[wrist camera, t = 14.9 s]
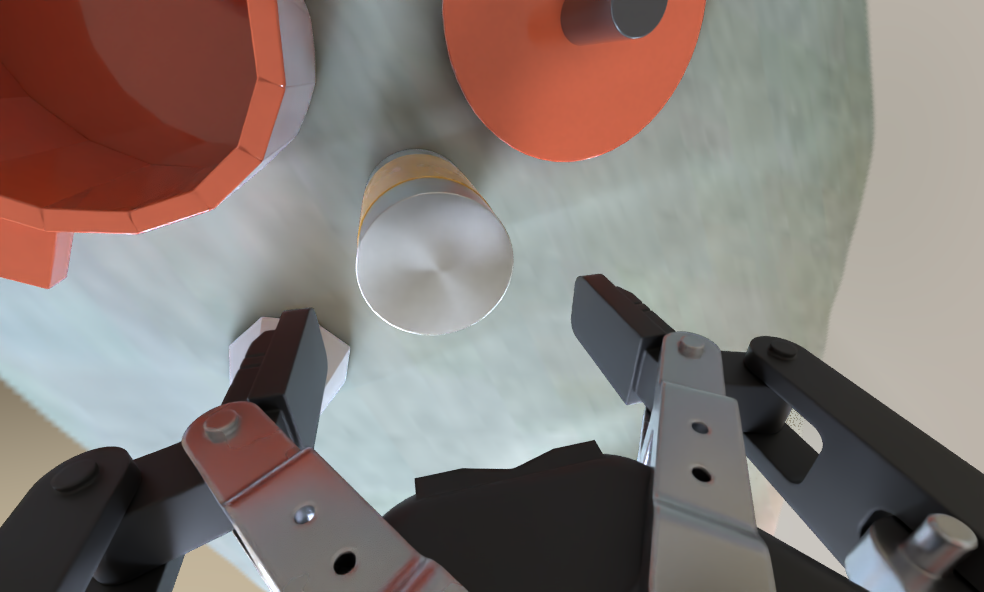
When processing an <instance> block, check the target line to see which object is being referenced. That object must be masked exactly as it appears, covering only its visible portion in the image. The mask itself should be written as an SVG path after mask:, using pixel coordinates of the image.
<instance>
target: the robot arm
mask: <svg viewBox="0 0 984 592" xmlns="http://www.w3.org/2000/svg"><path fill="white" fill-rule="evenodd" d="M571 324H572V329H573V332H574V334H575V336H576V337H577V339H578V340H579V342H580V343H581V344H582V346H583V347H584V348H585V350H586V351H587V352H588V354H589V355H590V356H591V358H592V359H593V361H594V362H595V363H596V365H597V366H598V367H599V369H600V370H601V371H602V373H603V374H604V375H605V377H606V378H607V380H608V381H609V382H610V384H611V385H612V386H613V388H614V389H615V390H616V392H617V393H618V394H619V396H620V397H621V399H622V400H623V401H624V403H625V404H626V405H631V404H636V403H641V402H643V403H644V405H645V410H644V414H643V420H642V428H641V436H640V443H639V451H638V458H637V461H636V460H633V459H630V458H626V457H622V456H617V455H610V454H603V453H602V452H601V450H600V448H599V447H598V445H597V443H596V441H595V440H593V441H588V442H583V443H579V444H574V445H569V446H565V447H560V448H555V449H552V450H550V451H548V452H546V453H544V454H542V455H540V456H538V457H536V458H534V459H532V460H530V461H528V462H526V463H524V464H522V465H520V466H518V467H516V468H513V469H471V468H462V469H457V470H452V471H447V472H443V473H438V474H433V475H429V476H424V477H419V478H415V490H416V494H415V495H413V496H411V497H409V498H407V499H405V500H404V501H402V502H401V503H399V504H397V505H396V506H395V507H393V508H392V509H391V510H390V511H388V512H387V513H386V514H385V515H384V516H383V517H382V516H381V515H380V514H379V513H378V512H377V511H376V510H375V509H374V508H373V507H372V506H371V505H370V504H369V503H368V502H366V501H365V500H364V499H363V498H362V497H361V496H360V495H359V494H358V493H357V492H356V491H355V490H354V489H353V488H352V487H351V486H350V485H349V484H348V483H347V482H346V481H345V480H344V479H343V478H342V477H341V476H340V475H339V474H338V473H337V472H336V471H335V470H334V469H333V468H332V467H331V466H330V465H329V464H328V463H327V462H326V461H325V460H324V459H323V458H322V457H321V456H320V455H319V454H318V453H317V452H316V451H315V450H314V444H315V439H316V433H317V428H318V422H319V417H320V411H321V406H322V400H323V395H324V389H325V384H326V378H327V372H328V361H327V354H326V350H325V346H324V342H323V338H322V335H321V331H320V327H319V323H318V320H317V316H316V313H315V311H314V309H313V308H304V309H296V310H287V311H283V313H282V315H281V317H280V320H279V322H278V324H277V327H276V329H275V330H268V331H264V332H263V333H262V334H261V335H260V336H258V337H257V338H256V339H255V340H254V341H253V342H252V343H251V344H250V346H249V348H248V350H247V352H246V354H245V358H244V359H243V361H242V363H241V365H240V369H239V370H238V371H237V373H236V375H235V377H234V379H233V381H232V383H231V385H230V387H229V390H228V392H227V394H226V396H225V398H224V400H223V402H222V404H221V406H218V407H216V408H213V409H211V410H209V411H208V412H206V413H204V414H203V415H201V416H200V417H198V418H197V419H196V420H195V421H194V422H193V423H192V424H191V425H190V426H189V427H188V428H187V430H186V431H185V433H184V435H183V438H182V441H181V442H179V443H177V444H174V445H172V446H169V447H167V448H164V449H161V450H159V451H156V452H153V453H151V454H148V455H145V456H143V457H140V458H137V459H135V460H133V459H132V458H131V457H130V455H129V454H128V452H127V451H126V450H125V449H123V448H120V447H102V448H97V449H93V450H90V451H87V452H84V453H82V454H80V455H77V456H75V457H73V458H71V459H69V460H67V461H65V462H63V463H61V464H60V465H58V466H57V467H55V468H54V469H52V470H51V471H50V472H48V473H47V474H46V475H44V476H43V477H42V478H41V479H39V480H38V481H37V482H36V483H35V484H34V485H33V487H32V488H31V489H30V490H29V491H28V493H27V494H26V495H25V497H24V498H23V499H22V500H21V502H20V503H19V504H18V506H17V507H16V508H15V509H14V511H13V512H12V513H11V515H10V516H9V517H8V518H7V520H6V521H5V522H4V524H3V525H2V526H1V527H0V592H172V590H173V587H174V585H175V582H176V579H177V576H178V573H179V570H180V567H181V564H182V562H183V558H184V556H185V554H186V553H188V552H190V551H192V550H194V549H196V548H198V547H200V546H202V545H204V544H206V543H208V542H210V541H212V540H214V539H216V538H218V537H220V536H222V535H224V534H226V533H228V532H231V531H232V532H233V534H234V536H235V537H236V539H237V540H238V542H239V543H240V545H241V546H242V548H243V549H244V551H245V553H246V554H247V556H248V557H249V559H250V560H251V562H252V563H253V565H254V566H255V568H256V570H257V571H258V573H259V574H260V576H261V577H262V579H263V580H264V582H265V583H266V585H267V587H268V588H269V590H270V591H271V592H984V474H983V473H981V472H980V471H979V470H977V469H976V468H974V467H973V466H971V465H970V464H968V463H967V462H966V461H964V460H963V459H961V458H960V457H958V456H957V455H956V454H954V453H953V452H951V451H950V450H948V449H947V448H946V447H944V446H943V445H941V444H940V443H939V442H937V441H936V440H934V439H933V438H931V437H930V436H929V435H927V434H926V433H924V432H923V431H921V430H920V429H919V428H917V427H916V426H914V425H913V424H911V423H910V422H909V421H907V420H905V419H904V418H903V417H901V416H900V415H898V414H897V413H896V412H894V411H893V410H891V409H890V408H888V407H887V406H886V405H884V404H883V403H881V402H880V401H879V400H877V399H876V398H874V397H873V396H871V395H870V394H869V393H867V392H866V391H864V390H863V389H861V388H860V387H858V386H857V385H856V384H854V383H853V382H851V381H850V380H849V379H847V378H846V377H844V376H843V375H841V374H840V373H839V372H837V371H836V370H834V369H833V368H831V367H830V366H828V365H827V364H826V363H824V362H823V361H821V360H820V359H819V358H817V357H816V356H814V355H813V354H811V353H810V352H809V351H807V350H806V349H804V348H803V347H801V346H799V345H797V344H795V343H793V342H791V341H788V340H785V339H781V338H777V337H770V336H761V337H756V338H754V339H752V341H751V342H750V345H749V347H748V350H747V352H730V351H720V349H719V347H718V346H717V345H716V344H715V343H714V342H712V341H711V340H709V339H707V338H706V337H703V336H701V335H698V334H695V333H691V332H683V331H677V332H676V331H675V330H673V329H672V328H671V327H670V326H669V325H668V324H667V323H665V322H664V321H663V320H662V319H661V318H660V317H659V316H658V315H656V314H655V313H654V312H653V311H650V308H648V307H647V306H646V305H645V304H642V301H640V300H639V299H638V298H637V297H636V296H635V295H634V294H633V293H631V292H629V291H626V290H624V289H622V288H620V287H618V286H617V287H616V286H615V285H614V284H612V283H611V282H610V281H609V280H608V279H607V278H606V277H605V276H604V275H602V274H594V275H586V276H579V277H577V279H576V282H575V288H574V297H573V305H572V314H571ZM792 408H793V409H794V410H796V411H797V412H798V413H799V414H800V415H801V416H802V417H804V418H805V419H806V420H807V421H808V422H809V423H810V424H812V425H813V426H814V427H815V428H816V429H817V431H818V432H819V434H820V436H821V438H822V442H823V448H822V451H821V452H820V454H818V453H817V452H816V451H815V450H814V449H813V448H812V447H811V446H810V445H809V444H807V443H806V442H805V441H804V440H803V439H802V438H801V437H800V436H799V435H798V434H797V433H796V432H795V431H794V430H793V429H791V428H790V427H789V426H788V425H787V424H786V423H785V421H786V419H787V417H788V415H789V414H790V412H791V410H792ZM746 456H747V457H748V458H749V460H750V461H751V462H752V463H753V464H754V465H755V466H756V468H757V469H758V470H759V471H760V472H761V473H762V474H763V476H764V477H765V478H766V479H767V480H768V481H769V482H770V484H771V485H772V486H773V487H774V488H775V489H776V490H777V491H778V493H779V494H780V495H781V496H782V497H783V498H784V499H785V501H787V503H788V504H789V505H790V506H791V507H792V508H793V510H794V511H795V512H796V513H797V514H798V515H799V517H800V518H801V519H802V520H803V521H804V522H805V523H806V524H807V526H808V527H809V528H810V529H811V530H812V531H813V532H814V534H816V536H817V537H818V538H819V539H820V541H821V542H822V543H823V544H824V545H825V546H826V547H827V548H828V550H829V551H830V552H831V553H832V554H833V555H834V557H835V558H836V559H837V560H838V561H839V562H840V563H841V565H842V566H843V567H844V568H845V570H846V574H847V576H848V578H849V579H847V578H846V577H844V576H842V575H840V574H839V573H837V572H835V571H833V570H832V569H830V568H828V567H826V566H825V565H823V564H821V563H819V562H818V561H816V560H814V559H812V558H811V557H809V556H807V555H805V554H803V553H801V552H800V551H798V550H796V549H795V548H793V547H791V546H789V545H788V544H786V543H784V542H782V541H780V540H779V539H777V538H775V537H774V536H772V535H770V534H768V533H767V532H765V531H763V530H761V529H759V528H758V527H757V526H756V520H755V513H754V506H753V500H752V493H751V486H750V480H749V473H748V466H747V460H746Z"/></svg>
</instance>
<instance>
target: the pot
mask: <svg viewBox="0 0 984 592" xmlns="http://www.w3.org/2000/svg"><path fill="white" fill-rule="evenodd" d="M315 82H316V76H315V46H314V38H313V31H312V23H311V18H310V14H309V11H308V9H307V6H306V4H305V1H304V0H0V277H2V278H6V279H10V280H14V281H18V282H22V283H26V284H30V285H33V286H37V287H41V288H45V289H50V288H51V287H53V286H54V285H56V284H58V283H59V282H61V281H62V280H64V279H65V278H66V277H67V273H68V266H69V260H70V253H71V247H72V241H73V234H74V232H76V233H111V234H140V233H145V232H148V231H151V230H154V229H157V228H160V227H163V226H166V225H169V224H172V223H175V222H178V221H181V220H184V219H187V218H190V217H194V216H197V215H200V214H203V213H206V212H209V211H211V210H212V209H215V208H216V207H217V206H218V205H220V204H221V203H222V202H223V201H224V200H226V199H227V198H228V197H229V196H230V195H232V194H233V193H234V192H235V191H236V190H238V189H239V188H240V187H241V186H243V185H244V184H245V183H246V182H247V181H249V180H250V179H251V178H252V177H253V176H255V175H256V174H257V173H258V172H259V171H261V170H262V169H263V168H264V167H265V166H266V165H267V164H268V163H269V162H270V161H271V160H272V159H273V158H274V157H275V156H276V155H278V154H279V153H280V152H281V151H282V150H283V149H284V148H285V147H286V146H287V145H288V144H289V143H290V142H291V141H292V140H293V139H294V138H295V137H296V136H297V135H298V133H299V131H300V128H301V126H302V123H303V120H304V118H305V116H306V113H307V111H308V109H309V105H310V101H311V98H312V94H313V90H314V87H315V84H316V83H315Z"/></svg>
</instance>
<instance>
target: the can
mask: <svg viewBox="0 0 984 592" xmlns="http://www.w3.org/2000/svg"><path fill="white" fill-rule="evenodd" d="M513 263H514V260H513V249H512V244H511V241H510V238H509V235H508V233H507V231H506V229H505V227H504V226H503V224H502V223H501V221H500V220H499V219H498V217H497V216H496V215H495V214H494V212H493V211H492V209H491V208H490V206H489V205H488V203H487V202H486V201H485V199H484V198H483V197H482V196H481V195H480V193H479V192H478V191H477V190H476V188H475V187H474V186H473V185H472V184H471V182H470V181H469V180H468V179H467V177H466V176H465V175H464V174H463V173H462V172H461V171H460V170H459V169H458V168H457V167H456V166H455V165H454V164H453V163H452V162H451V161H450V160H448V159H447V158H445V157H444V156H442V155H440V154H438V153H435V152H432V151H429V150H423V149H409V150H403V151H400V152H397V153H394V154H392V155H390V156H389V157H387V158H385V159H384V160H383V161H382V162H380V163H379V164H378V166H377V167H376V168H375V169H374V170H373V172H372V173H371V175H370V177H369V179H368V181H367V184H366V187H365V192H364V195H363V201H362V207H361V215H360V222H359V230H358V237H357V256H356V276H357V281H358V285H359V288H360V291H361V293H362V295H363V297H364V299H365V300H366V302H367V304H368V305H369V306H370V308H371V309H372V310H373V311H374V312H375V313H376V314H377V315H378V316H379V317H380V318H381V319H383V320H384V321H386V322H387V323H389V324H390V325H392V326H394V327H396V328H398V329H401V330H404V331H406V332H410V333H414V334H421V335H443V334H448V333H453V332H456V331H459V330H462V329H465V328H467V327H469V326H471V325H473V324H475V323H477V322H478V321H480V320H481V319H482V318H484V317H485V316H486V315H488V314H489V313H490V312H491V311H492V310H493V309H494V308H495V307H496V305H497V304H498V303H499V302H500V300H501V299H502V297H503V296H504V294H505V292H506V290H507V288H508V285H509V283H510V280H511V276H512V272H513Z"/></svg>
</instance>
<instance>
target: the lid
mask: <svg viewBox="0 0 984 592" xmlns="http://www.w3.org/2000/svg"><path fill="white" fill-rule="evenodd" d="M705 4H706V0H442V20H443V29H444V38H445V43H446V47H447V52H448V56H449V60H450V63H451V66H452V69H453V72H454V75H455V78H456V80H457V82H458V85H459V87H460V89H461V91H462V93H463V95H464V97H465V99H466V100H467V102H468V104H469V105H470V107H471V108H472V110H473V112H474V113H475V114H476V115H477V117H478V118H479V119H480V120H481V122H482V123H483V124H484V125H485V126H486V127H487V128H488V129H489V130H490V131H491V132H492V133H493V134H494V135H495V136H496V137H497V138H499V139H500V140H502V141H503V142H505V143H506V144H507V145H509V146H510V147H512V148H514V149H516V150H518V151H520V152H522V153H524V154H526V155H529V156H532V157H535V158H538V159H541V160H547V161H553V162H573V161H581V160H586V159H590V158H593V157H597V156H600V155H602V154H604V153H607V152H609V151H611V150H613V149H615V148H617V147H618V146H620V145H622V144H624V143H625V142H627V141H628V140H629V139H631V138H632V137H634V136H635V135H636V134H638V133H639V132H640V131H641V130H642V129H643V128H644V127H645V126H646V125H647V124H649V123H650V122H651V121H652V119H653V118H654V117H655V116H656V115H657V114H658V113H659V111H660V110H661V109H662V108H663V107H664V105H665V104H666V102H667V101H668V100H669V98H670V97H671V95H672V94H673V92H674V91H675V89H676V87H677V85H678V84H679V82H680V80H681V79H682V77H683V75H684V72H685V70H686V68H687V66H688V64H689V62H690V60H691V57H692V54H693V51H694V48H695V46H696V43H697V40H698V36H699V33H700V29H701V25H702V21H703V16H704V10H705Z"/></svg>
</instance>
